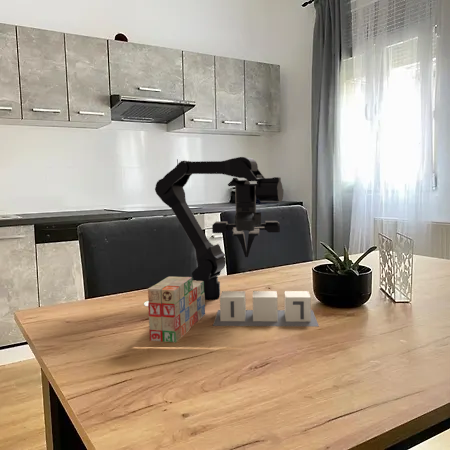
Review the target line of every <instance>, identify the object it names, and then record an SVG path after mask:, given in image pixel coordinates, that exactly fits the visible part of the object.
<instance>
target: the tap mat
mask: <svg viewBox="0 0 450 450" xmlns="http://www.w3.org/2000/svg"><path fill="white" fill-rule="evenodd" d="M212 327H319V322H318V321H317V318H316V316H315V313H314V310H313V309H311V322H300V321H286V319H285V309H280V310H279V309H278V321H253V309H246V316H245V321H220V309H217V312H216V314H215V318H214V322H213V324H212Z"/></svg>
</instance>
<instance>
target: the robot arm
mask: <svg viewBox="0 0 450 450" xmlns="http://www.w3.org/2000/svg"><path fill="white" fill-rule="evenodd" d="M192 175H224V176H225V175H226V176H229V177H232V179H231V180H230V182H229V183H227V186H228V187H234V189H235V190H234V192H235V194H234V195H235V198H234V199H235V215H234V223H228V220H227V221H214V222H213V224H212V227H211V228H212V229H211V230H212V234H224V233H225V232H226V231H232V232H233V233H232V236H234V237H236V238H237V239H238V241H239V244H240V245H241V246H240V247H241V248H242V251H243V254H244V258H249V256H250V251H251V248H252V245H253V242H254V240H255V238H256V236H260V231H266V232H267V233H280V231H281V230H280V229H281V227H280V226H281V224H280V222H279V221H278V220H264V221H265V223H264V222H263V223H262V212H257V203H256V202H257V199H258V201H259V202H260V203H282V201H283V199H284V188H283V184H282V183H283V182H282V181H281V177H279V176H277V177H274V176H273V177H267V178H266V177H265V176H264V175H263V174H262V172H261V171H260V170H259V166H258V163H257V161H256V160H255V159H254V158H252V157H248V156H247V157H246V156H238V157H234V158H230V159H226V160H220V161H219V160H218V161H215V160H213V161H212V160H211V161H209V160H208V161H201V160H200V161H189V160H181V161H179V163H178V164H176V166H174V168H173V169H171V170H170V171H169V172H167V173H166V174H165V175H164V176H163V178H160V179H158V181H157V182H156V183H155V188H154V190H155V193H156V195H157V196H158V198H159V199H160V200H161V201H162V203H164V204H165V205H166V206H168V207H169V208H170V209H171V210H172V212H173V213H174V215H175V218H176V219H177V221H178V222H179V224H180V225H181V227H182V230H183V231H184V232H185V234H186V236H187V238H188V239H189V241H190V243H191V244H192V246H193V248H194V250H195V258H196V262H197V264H198V266H197V267H196V268H195V269H194V270H193V271H192V272H191V277H192V280H193V281H204V293H205V301H217V300H219V299H218V298H220V296H221V282H220V281H219V276H220V275H221V272H222V271H223V270H224V268H225V267H226V262H227V261H226V258H225V257H226V254H225V253H224V252H223V251H222V249H221V246H220V244H219V243H217V244H213V243H211V242H210V241H209V239H208V237H207V236H206V234H205V232H204V230H203V229H202V227H201V225H200V224H199V221H198V220H197V219H196V217H195V214H194V213H193V212H192V210H191V209H190V206H189V205H188V203H187V201H186V200H187V199H186V192H185V190H184V187H185V186H186V185H187V183H188V182H189V179H190V177H191V176H192ZM238 178H240V179H242V180H239V179H238ZM243 179H244V180H243ZM251 182H256V183H251ZM246 231H248V236H247V237H248V238H247V245H246V235H245V232H246Z"/></svg>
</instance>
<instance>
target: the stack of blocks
mask: <svg viewBox="0 0 450 450" xmlns="http://www.w3.org/2000/svg"><path fill="white" fill-rule="evenodd" d="M147 294H148V295H147V301H149V303H148V306H147V308H148V310H147V311H148V320H149V321H148V324H149V326H148V327H149V331H148V332H149V341H152V342H153V341H154V342H164V343H165V342H166V343H168V342H169V343H177V342H178V341H179V340H180V339H181V338H182V337H183V336H184V335H185V334H187V333H188V332H189V331H190V330H191V328H192V327H194V325H195V324H196V323H197V322H199V321H200V320H201V319H203V318H202V317H203V316H205V314H206V305H205V304H206V302H205V301H206V300H205V293H204V281H196V280H193V276H167V277H165V278H164V279H162V280H160V281H159V282H157V283H156V284H154V285H152V286H150V287H148V288H147Z"/></svg>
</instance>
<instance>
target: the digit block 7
mask: <svg viewBox="0 0 450 450" xmlns="http://www.w3.org/2000/svg"><path fill="white" fill-rule="evenodd" d="M283 293H284V310H285V319H286V321H300V322H311V310H312V297H311V294H310V292H309V290H294V291H293V290H285V291H284V292H283Z"/></svg>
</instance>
